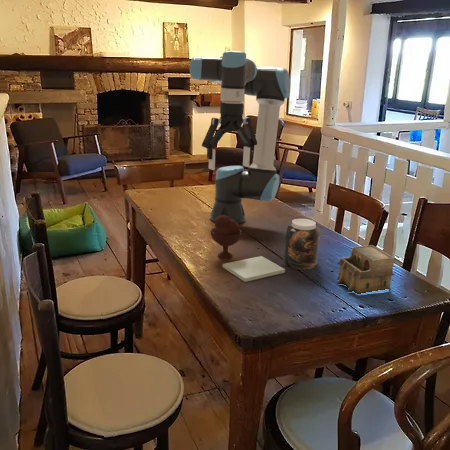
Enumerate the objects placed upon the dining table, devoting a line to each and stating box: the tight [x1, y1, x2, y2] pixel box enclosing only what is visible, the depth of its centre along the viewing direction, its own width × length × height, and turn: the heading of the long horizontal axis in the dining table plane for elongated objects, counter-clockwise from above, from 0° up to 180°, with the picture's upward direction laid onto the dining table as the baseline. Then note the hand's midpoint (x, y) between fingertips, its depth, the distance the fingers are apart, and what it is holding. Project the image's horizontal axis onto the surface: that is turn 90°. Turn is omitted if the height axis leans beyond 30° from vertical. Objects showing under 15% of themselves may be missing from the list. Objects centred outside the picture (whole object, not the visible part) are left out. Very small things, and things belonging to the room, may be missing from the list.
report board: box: [222, 255, 286, 283], centre depth 164 cm, size 16×13×1 cm
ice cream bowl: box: [210, 215, 243, 260], centre depth 173 cm, size 11×11×15 cm
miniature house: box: [336, 244, 395, 294], centre depth 155 cm, size 15×14×11 cm
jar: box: [283, 218, 321, 271], centre depth 169 cm, size 12×12×15 cm
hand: (229, 167), depth 165 cm, fingers open, 13 cm apart
